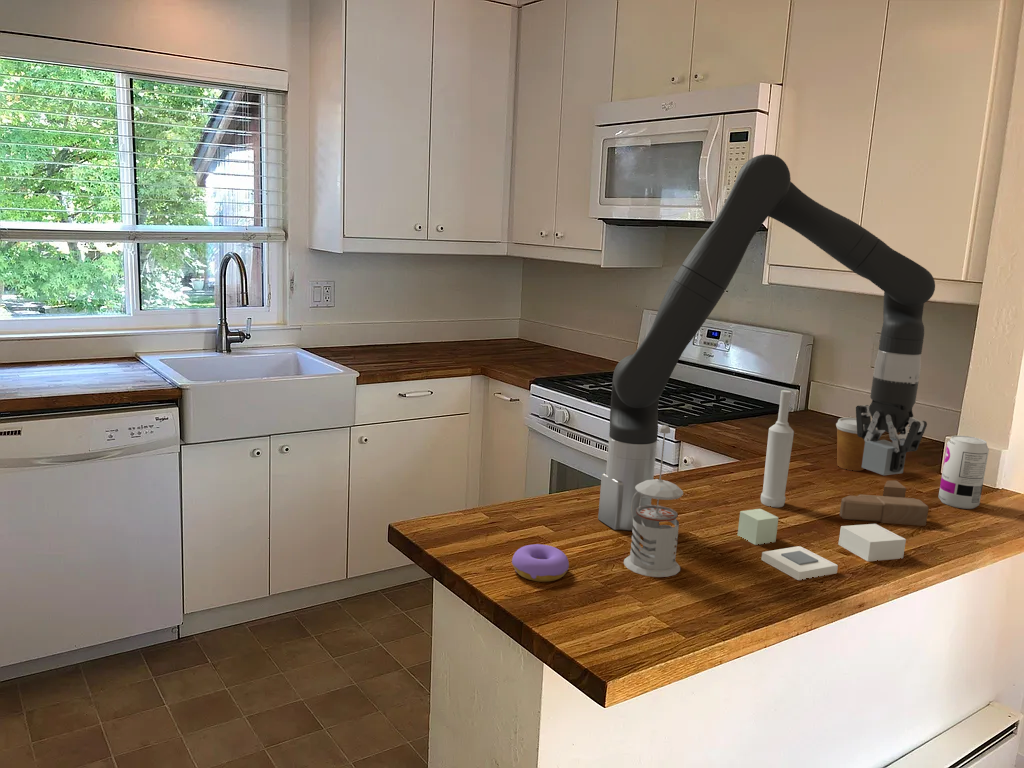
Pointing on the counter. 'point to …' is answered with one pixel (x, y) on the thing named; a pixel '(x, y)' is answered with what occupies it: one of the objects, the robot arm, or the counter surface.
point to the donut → (540, 563)
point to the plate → (799, 562)
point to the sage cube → (757, 526)
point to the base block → (872, 542)
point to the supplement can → (963, 472)
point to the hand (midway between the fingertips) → (882, 466)
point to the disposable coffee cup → (849, 445)
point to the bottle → (778, 456)
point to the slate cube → (878, 457)
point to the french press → (655, 528)
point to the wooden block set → (885, 507)
